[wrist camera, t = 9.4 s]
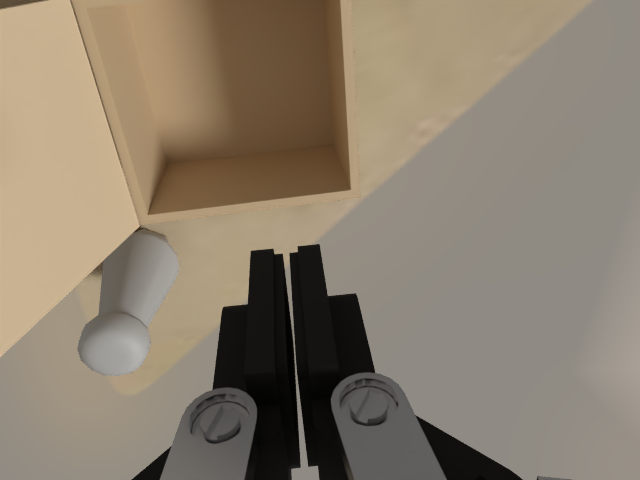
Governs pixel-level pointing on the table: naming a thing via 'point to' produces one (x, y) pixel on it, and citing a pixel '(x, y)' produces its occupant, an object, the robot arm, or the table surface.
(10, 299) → the flap
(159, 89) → the carton
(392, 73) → the table surface
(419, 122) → the table surface
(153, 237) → the salt shaker
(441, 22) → the table surface
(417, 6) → the table surface
